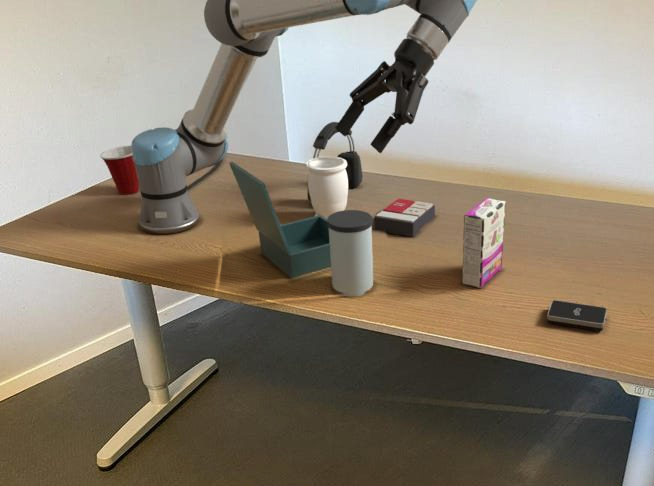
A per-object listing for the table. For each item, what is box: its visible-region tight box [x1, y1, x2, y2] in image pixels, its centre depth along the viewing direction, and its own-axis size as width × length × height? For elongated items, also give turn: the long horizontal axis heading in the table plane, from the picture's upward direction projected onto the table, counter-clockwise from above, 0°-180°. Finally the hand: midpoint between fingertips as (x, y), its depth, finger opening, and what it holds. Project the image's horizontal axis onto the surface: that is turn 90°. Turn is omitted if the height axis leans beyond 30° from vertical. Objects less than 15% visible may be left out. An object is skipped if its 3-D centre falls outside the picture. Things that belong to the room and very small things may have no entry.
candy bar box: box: [461, 197, 507, 289], centre depth 157 cm, size 11×5×16 cm, turn 148°
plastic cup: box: [99, 145, 140, 195], centre depth 208 cm, size 11×11×12 cm
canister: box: [327, 209, 374, 298], centre depth 154 cm, size 9×9×16 cm
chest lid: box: [228, 161, 291, 254], centre depth 158 cm, size 17×17×1 cm
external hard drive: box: [546, 299, 608, 332], centre depth 145 cm, size 7×11×2 cm, turn 70°
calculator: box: [373, 198, 436, 237], centre depth 187 cm, size 11×4×15 cm
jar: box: [306, 156, 349, 219], centre depth 188 cm, size 11×10×15 cm
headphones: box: [306, 121, 363, 204], centre depth 201 cm, size 22×6×20 cm, turn 152°
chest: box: [258, 215, 331, 279], centre depth 169 cm, size 17×17×6 cm
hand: (357, 140), depth 143 cm, fingers open, 13 cm apart
